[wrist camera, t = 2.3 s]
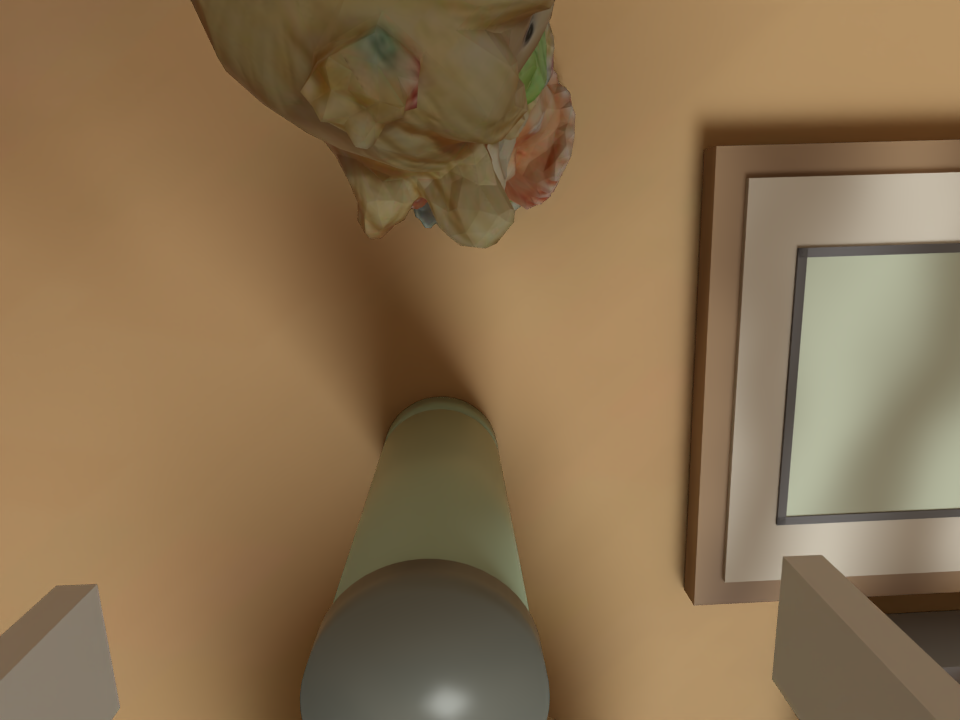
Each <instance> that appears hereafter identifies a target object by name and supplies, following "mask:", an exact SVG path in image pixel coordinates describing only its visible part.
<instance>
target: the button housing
mask: <svg viewBox="0 0 960 720" xmlns="http://www.w3.org/2000/svg"><path fill="white" fill-rule="evenodd" d="M885 615H886V616H888V617H889V618H890V619H891V620H892V621H893V622H894V623H895V624H896V625H897V626H898V627H899V628H900V629H901V630H902V631H903V632H905V633H906V634H907V635H908V636H909V637H910V638H911V639H912V640H913V641H914V642H915V643H916V644H917V645H918V646H919V647H920V648H922V649H923V650H924V651H925V652H926V653H927V654H928V655H929V656H930V657H931V658H932V659H933V660H934V661H935V662H936V663H937V664H939V665H940V666H941V667H942V668H943V669H944V670H945V671H946V672H947V673H948V674H949V675H950V676H951V677H952V678H953V679H954V680H956V681H957V682H958V683H959V684H960V610H956V611H937V612H917V613H898V614H885Z"/></svg>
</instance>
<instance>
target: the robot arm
mask: <svg viewBox="0 0 960 720" xmlns="http://www.w3.org/2000/svg"><path fill="white" fill-rule="evenodd" d="M772 680H773V681H774V683H775V684H776V686H777V687H778V689H779V690H780V692H781V693H782V695H783V696H784V698H785V699H786V701H787V702H788V704H789V705H790V707H791V708H792V710H793V711H794V713H795V714H796V716H797V717H798V719H799V720H960V684H959V683H958V682H957V681H956V680H954V679H953V678H952V677H951V676H950V675H949V674H948V673H947V672H946V671H945V670H944V669H943V668H942V667H941V666H940V665H939V664H937V663H936V662H935V661H934V660H933V659H932V658H931V657H930V656H929V655H928V654H927V653H926V652H925V651H924V650H923V649H922V648H920V647H919V646H918V645H917V644H916V643H915V642H914V641H913V640H912V639H911V638H910V637H909V636H908V635H907V634H906V633H905V632H903V631H902V630H901V629H900V628H899V627H898V626H897V625H896V624H895V623H894V622H893V621H892V620H891V619H890V618H889V617H888V616H886V615H885V614H884V613H883V612H882V611H881V610H880V609H879V608H878V607H877V606H876V605H875V604H874V603H873V602H872V601H871V600H869V599H868V598H867V597H866V596H865V595H864V594H863V593H862V592H861V591H860V590H859V589H858V588H857V587H856V586H855V585H854V584H852V583H851V582H850V581H849V580H848V579H847V578H846V577H845V576H844V575H843V574H842V573H841V572H840V571H839V570H838V569H837V568H835V567H834V566H833V565H832V564H831V563H830V562H829V561H828V560H827V559H826V558H825V557H824V556H823V555H805V556H783V560H782V572H781V583H780V595H779V606H778V618H777V629H776V641H775V652H774V664H773V675H772ZM119 709H120V705H119V699H118V694H117V688H116V683H115V678H114V672H113V667H112V661H111V656H110V651H109V645H108V640H107V635H106V629H105V624H104V618H103V613H102V608H101V602H100V597H99V591H98V586H97V584H87V585H62V586H55V587H54V588H53V589H52V590H51V591H50V592H49V593H48V594H47V595H45V596H44V597H43V598H42V599H41V600H40V601H39V602H38V603H37V604H35V605H34V606H33V607H32V608H31V609H30V610H29V611H28V612H27V613H26V614H24V615H23V616H22V617H21V618H20V619H19V620H18V621H17V622H16V623H14V624H13V625H12V626H11V627H10V628H9V629H8V630H7V631H6V632H4V633H3V634H2V635H1V636H0V720H112V719H113V717H114V716H115V714H116V713H117V711H118V710H119Z"/></svg>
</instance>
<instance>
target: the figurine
mask: <svg viewBox="0 0 960 720" xmlns="http://www.w3.org/2000/svg"><path fill="white" fill-rule="evenodd" d="M191 1H192V4H193V6H194V8H195V10H196V12H197V14H198V16H199V18H200V21H201V23H202V25H203V27H204V29H205V31H206V33H207V35H208V38H209V40H210V42H211V44H212V46H213V48H214V50H215V52H216V55H217V57H218V59H219V60H220V62H221V64H222V65H223V67H224V69H225V70H226V71H227V72H228V73H229V74H230V75H231V76H232V77H233V78H234V79H236V80H237V81H238V82H239V83H240V84H241V85H242V86H243V87H245V88H246V89H247V90H248V91H249V92H250V93H251V94H252V95H254V96H255V97H256V98H257V99H258V100H259V101H260V102H262V103H263V104H264V105H265V106H267V107H268V108H270V109H272V110H273V111H275V112H276V113H278V114H279V115H281V116H282V117H284V118H285V119H287V120H288V121H290V122H292V123H293V124H295V125H296V126H298V127H299V128H301V129H302V130H304V131H305V132H307V133H309V134H311V135H313V136H315V137H317V138H319V139H321V140H323V141H324V142H325V143H326V144H327V146H328V147H329V148H330V149H331V151H332V152H333V153H334V155H335V156H336V158H337V159H338V161H339V163H340V165H341V167H342V169H343V171H344V173H345V175H346V177H347V179H348V181H349V183H350V185H351V187H352V190H353V192H354V194H355V197H356V199H357V201H358V221H359V223H360V225H361V227H362V229H363V231H364V232H365V234H366V235H367V236H368V237H369V238H370V239H378V238H382V237H383V236H384V235H385V234H386V233H387V232H388V231H389V230H390V229H391V228H392V227H393V226H394V225H396V224H398V223H399V222H401V221H403V220H404V219H405V217H406V215H407V214H408V212H409V210H410V209H411V208H413V209H414V212H415V216H416V217H417V218H419V219H420V220H421V222H422V223H423V225H424V227H425V228H431V227H432V226H433V225H434V224H435V223H437V224H438V226H439V227H440V228H441V229H442V230H443V231H444V232H445V233H446V234H447V235H448V236H449V237H450V238H452V239H453V240H454V241H455V242H457V243H458V244H459V245H460V246H468V247H477V248H487V247H490V246H492V245H494V244H496V243H497V242H498V241H499V240H500V238H501V237H502V236H503V235H504V233H505V232H506V231H507V230H508V229H509V227H510V226H511V225H512V224H513V222H514V214H515V210H516V209H518V208H519V207H520V206H522V207H524V208H526V209H529V208H531V207H533V206H536V205H538V204H542V203H543V202H544V201H545V200H546V199H548V198H549V197H550V196H551V193H552V192H554V190H555V188H556V186H557V184H558V182H559V179H560V177H561V175H562V173H563V171H564V169H565V167H566V166H567V163H568V161H569V159H570V157H571V154H572V148H573V142H574V134H575V112H574V110H573V107H572V102H571V96H570V93H569V91H568V90H567V89H566V88H565V87H563V86H562V85H560V83H559V81H558V79H557V73H556V72H555V71H554V70H553V53H554V37H553V33H552V30H551V27H550V24H549V20H550V18H551V15H552V10H553V5H554V1H555V0H191Z"/></svg>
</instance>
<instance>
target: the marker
mask: <svg viewBox="0 0 960 720" xmlns="http://www.w3.org/2000/svg"><path fill="white" fill-rule="evenodd" d="M549 701H550V692H549V681H548V676H547V672H546V667H545V662H544V657H543V652H542V647H541V642H540V638H539V634H538V630H537V628H536V625H535V623H534V620H533V618H532V616H531V614H530V613H529V608H528V603H527V598H526V592H525V587H524V582H523V577H522V572H521V566H520V561H519V556H518V551H517V545H516V540H515V535H514V530H513V524H512V519H511V514H510V509H509V504H508V498H507V493H506V488H505V483H504V477H503V472H502V467H501V462H500V456H499V451H498V446H497V441H496V437H495V433H494V431H493V428H492V426H491V425H490V423H489V421H488V420H487V419H486V417H485V416H484V415H483V414H482V413H481V412H480V411H479V410H478V409H476V408H475V407H474V406H472V405H470V404H469V403H467V402H464V401H462V400H459V399H455V398H450V397H431V398H427V399H423V400H421V401H418V402H416V403H414V404H412V405H410V406H409V407H407V408H406V409H405V410H403V411H402V412H401V413H400V414H399V415H398V417H397V418H396V419H395V420H394V422H393V423H392V425H391V427H390V429H389V431H388V434H387V437H386V440H385V443H384V446H383V449H382V453H381V456H380V459H379V462H378V465H377V468H376V471H375V474H374V477H373V480H372V484H371V487H370V490H369V493H368V496H367V499H366V502H365V505H364V508H363V512H362V515H361V518H360V521H359V524H358V527H357V530H356V533H355V536H354V539H353V543H352V546H351V549H350V552H349V555H348V558H347V561H346V564H345V567H344V570H343V574H342V577H341V580H340V583H339V586H338V589H337V592H336V595H335V598H334V601H333V604H332V606H331V607H330V609H329V610H328V612H327V613H326V615H325V616H324V619H323V621H322V623H321V625H320V627H319V630H318V633H317V636H316V639H315V642H314V645H313V648H312V651H311V654H310V657H309V660H308V663H307V665H306V669H305V672H304V676H303V679H302V684H301V692H300V709H301V715H302V720H547V716H548V712H549Z"/></svg>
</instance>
